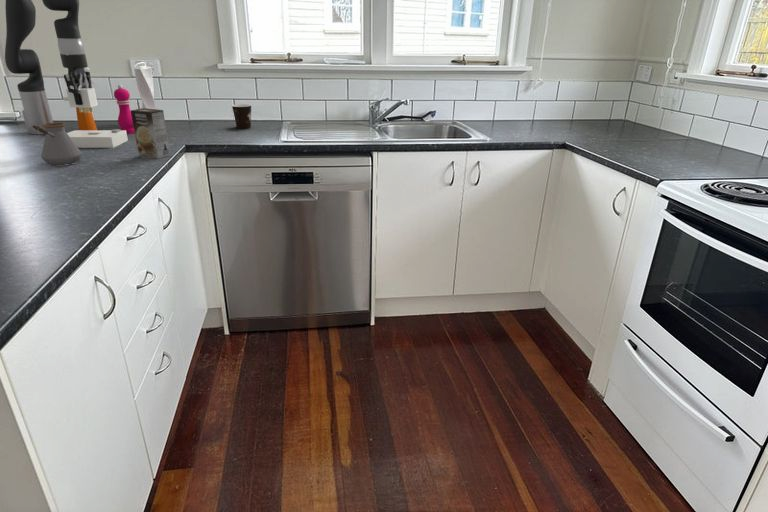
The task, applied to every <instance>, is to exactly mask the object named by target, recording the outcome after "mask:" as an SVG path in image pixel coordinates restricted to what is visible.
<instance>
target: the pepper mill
mask: <svg viewBox="0 0 768 512" xmlns="http://www.w3.org/2000/svg"><path fill="white" fill-rule="evenodd" d="M123 87H124V86H123V85H122V84H118V85H117V89H115V90H114V91H113V96H114V97H113V98H115V99H116V105H118V110H119V112H118V113H119V114H118V118H117V124H118V126H119V127H120V130H126V133H127V135H131V134H132V135H133V134H135V132H134V127H133V121H132V116H131V110H132V109H131V108H130V104H131V102H130V100H129V99H130V97H131V96H130V92H129V91H128V89H126V88H123Z"/></svg>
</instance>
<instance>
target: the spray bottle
mask: <svg viewBox="0 0 768 512" xmlns="http://www.w3.org/2000/svg"><path fill="white" fill-rule="evenodd" d="M84 70H85V72H90V71H91V69H90V68H89V67H86V68H84ZM91 85H93V86H94V87H98V85H97V84H96V83H95V82H94V81H92V79H91ZM75 111H76V118H77V126H78V130H98V128H97V125H96V122H95V119H94V116H93V113H92V112H90V113H84V112H79V107H75ZM83 111H84V108H83Z"/></svg>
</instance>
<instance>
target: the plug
mask: <svg viewBox="0 0 768 512" xmlns="http://www.w3.org/2000/svg"><path fill="white" fill-rule="evenodd" d="M80 91H81V93H80V94H81V97H82V101H83V105H76V103H75V99H74V94H72V93H70V92H69V91H68V88H67V89H66V94H67V96H63V97H62V100H63V101H67V102H68V104H69V107H70V108H76V107H79V112H84V113H90V112H94V110H93V108H94V107H98V105H99V103H98V98H97V94H96V89H95V87H94V88H93V87H92V88H80ZM83 108H84V111H83Z"/></svg>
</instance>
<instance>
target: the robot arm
mask: <svg viewBox="0 0 768 512" xmlns="http://www.w3.org/2000/svg"><path fill="white" fill-rule="evenodd" d="M41 2H42V3H43V5H44V6H45V8H47V9H49V10H51V11H57V12H67V15H66V16H65V17H63V18H58V19H55V20H54V21H53V27H54V30H55V34H56V38H57V39H56V40H57V47H58V51H59V55H60V56H59V57H60V60H61V64H62V68H66V69H67V74H63V79H64V82H65V84H66V87H67V89H68V91H69V92H70V93H72V94H74V99H75V103H76V105H83V101H82V97H81V94H80V93H81V91H80V88H93V86H92V85H93V84H91V80H92V78H91V72H90V71H88V72H85V70H84V68H88V67H89V65H88V61H87V57H86V51H85V47H84V44H83V40H82V36H81V32H80V31H81V30H80V28H79V27H80V25H79V11H80V0H42V1H41ZM36 12H37V11H36V5H35V4H34V2H33V0H5V23H6V30H5V31H6V33H5V34H6V35H5V36H6V37H5V38H6V39H5V45H4V46H5V48H4V60H5V66H6V68H7V70H8V71H9V72H10V73H12V74H15V75H22V74H24V75H25V74H27V75H28V74H29V75H28V77H27V78H26V79H25V80H23V81H21V82H19V83H18V84H17V85H16V86H17V90H18V94H19V97H20V102H21V105H22V108H23V109H22V110H21V113H22V116H23V120H24V124H25V127H26V130H27V134H30V135H31V134H32V135H46V134H45V133H42V132H40V131H39V130H38V131H37V130H36V129H35V128H33V127H32V126H33V125H35V126H39V127H40V128H43V129H44V130H45V128H44V127H43V126H42V125H43V124H49V123H54V119H53V116H52V111H51V109H50V105H49V100H48V97H47V93H46V90H45V89H46V88H45V84H44V83H45V82H44V77H43V72H42V68H41V63H40V60H39V56H38V55H37V53H36V52H35V50H34V49H30V48H29V49H28V48H24V49H23V48H22V49H21V46H22V44H23V43H24V41H25V40H26V39H27V37H28V36H29V35H31V33H32V31H33V30H34V29H35V26H36V18H37V17H36ZM30 127H31V128H30ZM30 130H31V131H32V132H31V131H30ZM36 131H37V132H36Z"/></svg>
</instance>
